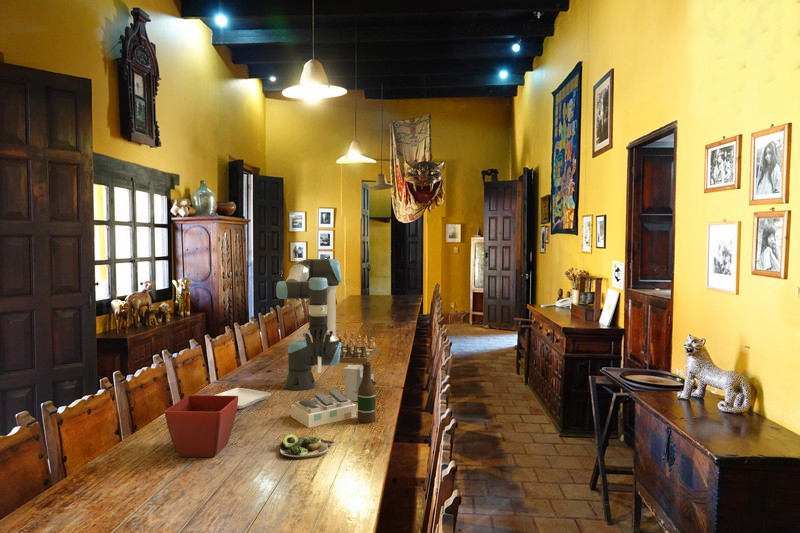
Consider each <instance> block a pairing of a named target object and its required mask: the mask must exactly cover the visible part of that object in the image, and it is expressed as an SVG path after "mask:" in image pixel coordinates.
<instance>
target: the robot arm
mask: <svg viewBox="0 0 800 533" xmlns="http://www.w3.org/2000/svg"><path fill="white" fill-rule="evenodd" d="M286 278H287V279H286V280H282V281H277V283H276V289H275V293H276V298H278V299H279V300H280V299H281V300H308V315H309V316H308V326H309V327H308V329H307V331H306V332H303V334H302V336H303V337H304V338H303V339H299V340H294V341H292V342H290V343H288V348H287V349H288V350H287V357H288V358H287V361H288V362H287V364H288V365H287V367H288V368H287V374H286V378H285V380H284V388H285V389H286V390H290V391H304V390H310V389H313V388H315V387H316V381H315V378H314V374H313V371H312V367H313V366H314V372H315V373H317V374H321V373H322V367H324V366H325V367H326V366H329V367H332V366H338V365H339V364H340V363H339V360H340V352H341V345H342V343H341V342H342V341H341V342H339V339H338V337H337V333H336V332H337V327H336V325H337V324H336V323H337V311H336V310H337V307H336V306H337V305H336V304H337V302H336V301H337V297H336V295H337V293H336V292H337V289H338V287H339V286H340V284H339V283H342V271H341V265H340V261H339V260H338V259H333V258H315V259H314V258H307V259H303V260H300V261H298V262H296V263H295V264H293V265H292V266H291V267H290V269H289V272H288V277H286Z"/></svg>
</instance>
